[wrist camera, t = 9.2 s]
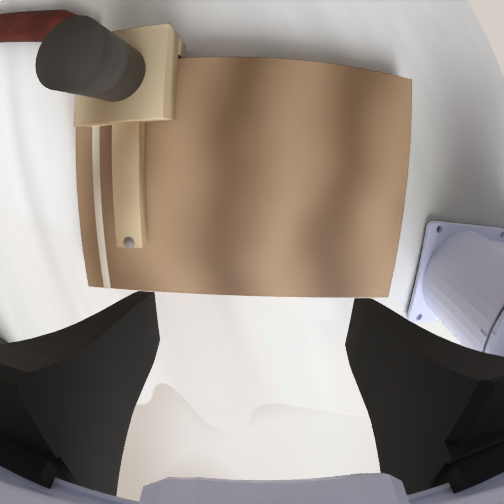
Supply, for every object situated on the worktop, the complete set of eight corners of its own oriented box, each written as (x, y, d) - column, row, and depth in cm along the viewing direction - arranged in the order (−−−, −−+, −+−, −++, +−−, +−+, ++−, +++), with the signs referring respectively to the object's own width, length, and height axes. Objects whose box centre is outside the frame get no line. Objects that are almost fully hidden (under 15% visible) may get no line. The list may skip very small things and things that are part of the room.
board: (398, 83, 17) (412, 79, 15) (377, 284, 22) (388, 297, 20) (93, 77, 17) (78, 72, 15) (100, 274, 21) (88, 286, 19)
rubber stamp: (185, 46, 16) (136, -20, 7) (182, 235, 20) (133, 304, 11) (111, 54, 16) (27, 13, 7) (111, 233, 20) (32, 293, 11)
